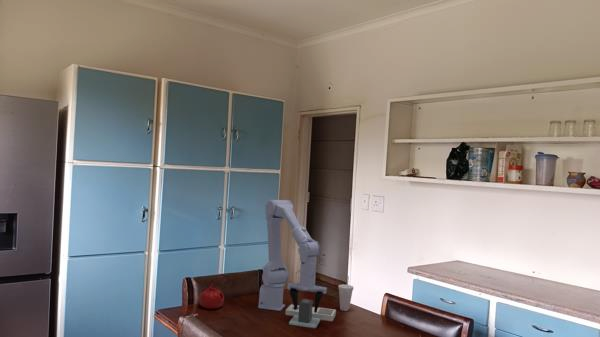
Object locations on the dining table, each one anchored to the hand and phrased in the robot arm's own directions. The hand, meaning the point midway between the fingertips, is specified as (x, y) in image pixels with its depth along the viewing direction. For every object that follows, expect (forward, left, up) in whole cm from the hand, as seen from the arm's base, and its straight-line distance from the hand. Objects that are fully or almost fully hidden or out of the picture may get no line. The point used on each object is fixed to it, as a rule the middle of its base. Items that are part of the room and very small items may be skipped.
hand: (305, 310), depth 163 cm
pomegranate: (-39, +3, -5) cm, 39 cm away
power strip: (+1, +10, -4) cm, 11 cm away
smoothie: (+12, +23, -5) cm, 26 cm away
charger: (0, 0, -4) cm, 4 cm away
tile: (0, 0, -4) cm, 4 cm away
